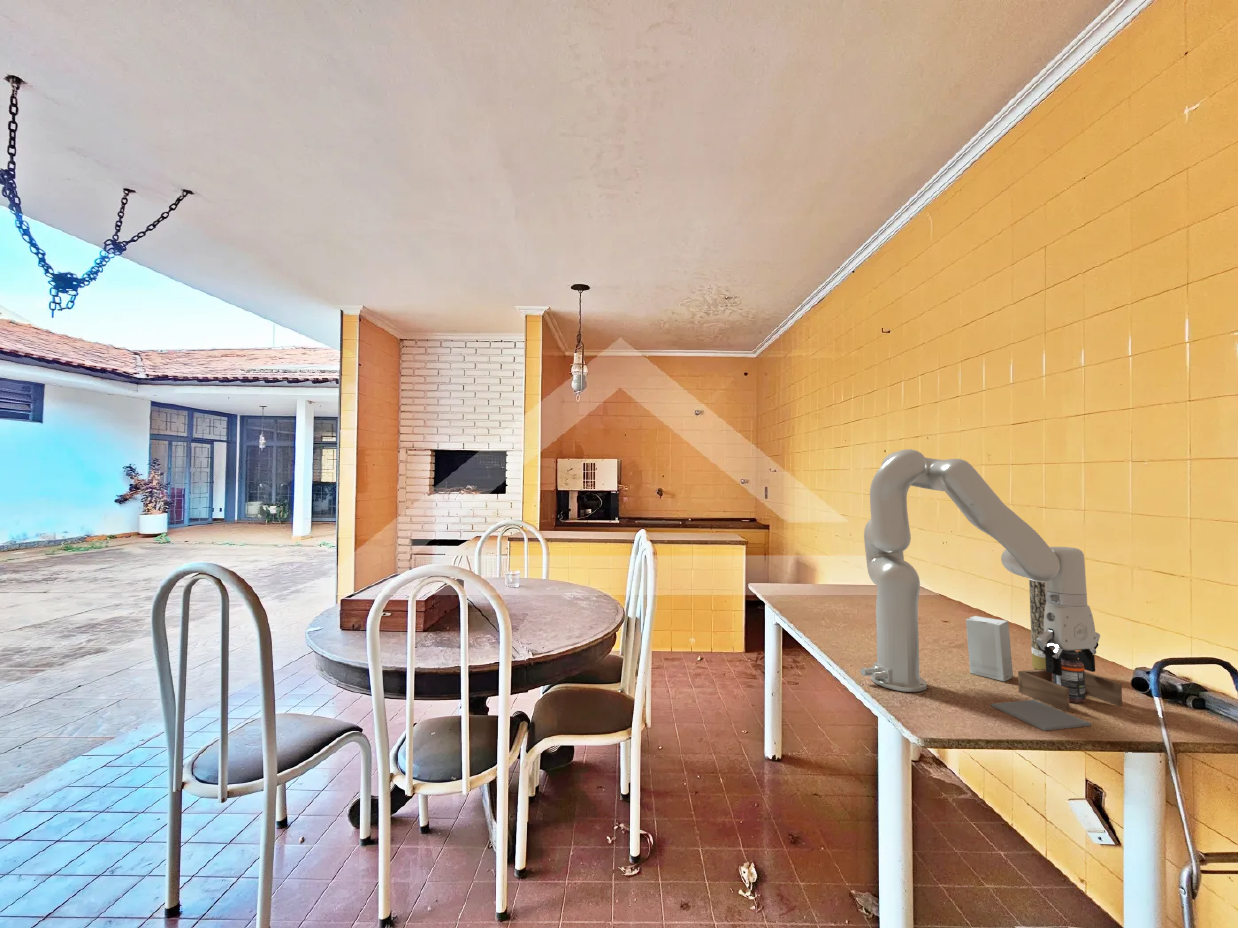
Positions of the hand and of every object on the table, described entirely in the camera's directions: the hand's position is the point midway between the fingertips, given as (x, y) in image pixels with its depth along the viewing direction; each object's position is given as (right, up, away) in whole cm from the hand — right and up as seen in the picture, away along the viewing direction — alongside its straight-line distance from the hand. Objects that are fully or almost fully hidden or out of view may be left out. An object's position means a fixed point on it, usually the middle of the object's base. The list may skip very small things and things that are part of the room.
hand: (1070, 671), depth 120 cm
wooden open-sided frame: (-1, -6, 0) cm, 6 cm away
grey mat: (-15, -6, -9) cm, 19 cm away
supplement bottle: (-1, -7, 0) cm, 7 cm away
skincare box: (-9, -7, +15) cm, 18 cm away
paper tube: (+10, -7, +18) cm, 22 cm away
